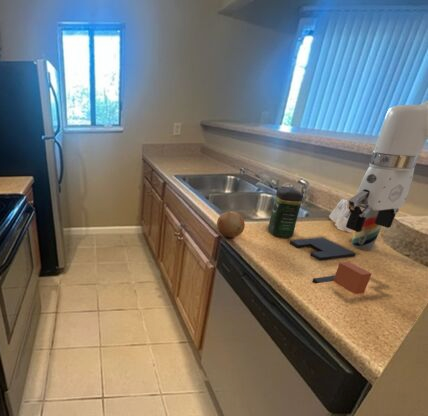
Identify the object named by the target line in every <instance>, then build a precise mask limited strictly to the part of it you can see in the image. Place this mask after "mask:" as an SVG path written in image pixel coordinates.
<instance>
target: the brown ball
mask: <svg viewBox="0 0 428 416" xmlns="http://www.w3.org/2000/svg"><path fill="white" fill-rule="evenodd" d="M245 227H246V225H245V220H244V218H243V216H242V215H241V214H240V213H238V212H237V211H226V212H223V213H222V214H220V215H219V217H218V218H217V220H216V228H217V230H218V232H219V234H221V235H222V236H223V237H226V238H235V237H238V236H240V235H242V233H243V232H244V231H245Z"/></svg>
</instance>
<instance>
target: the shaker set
mask: <svg viewBox="0 0 428 416" xmlns="http://www.w3.org/2000/svg"><path fill="white" fill-rule="evenodd" d="M348 205H349V200H348V199H344V198H343V199H341V200H340V201H339V202H338V203H337V204H336V206H335V207H334V208H333V210H332V211H331V213H329V216H328V218H329V219H330V220H331V221H332V222H334V226H335V227H336V229H338V230H339V231H342V232H347V233H353V230H351V229H349V228H347V227H346V225H347V222H348V219H349V216H350V213H349V211H350V210H349V207H348Z"/></svg>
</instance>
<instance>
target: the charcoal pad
mask: <svg viewBox="0 0 428 416" xmlns="http://www.w3.org/2000/svg"><path fill="white" fill-rule="evenodd" d="M289 245H291V246H292V247H295V248H296V249H303V248H311V249H313V250H314V251H311V252H310V253H309V256H310V257H312V258H313V259H315V260H317V261H318V262H321V261H329V260H337V259H338V260H339V259H344V258H345V259H347V258H353V257H356V254H357V253H356V252H354V251H352V250H350V249H348V248H346V247H343V246H341V245H339V244H338V243H335V242H333V241H332V240H329V239H328V238H325V237H323V236H322V237H313V238H305V239H303V238H302V239H296V240H290V242H289Z"/></svg>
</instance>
